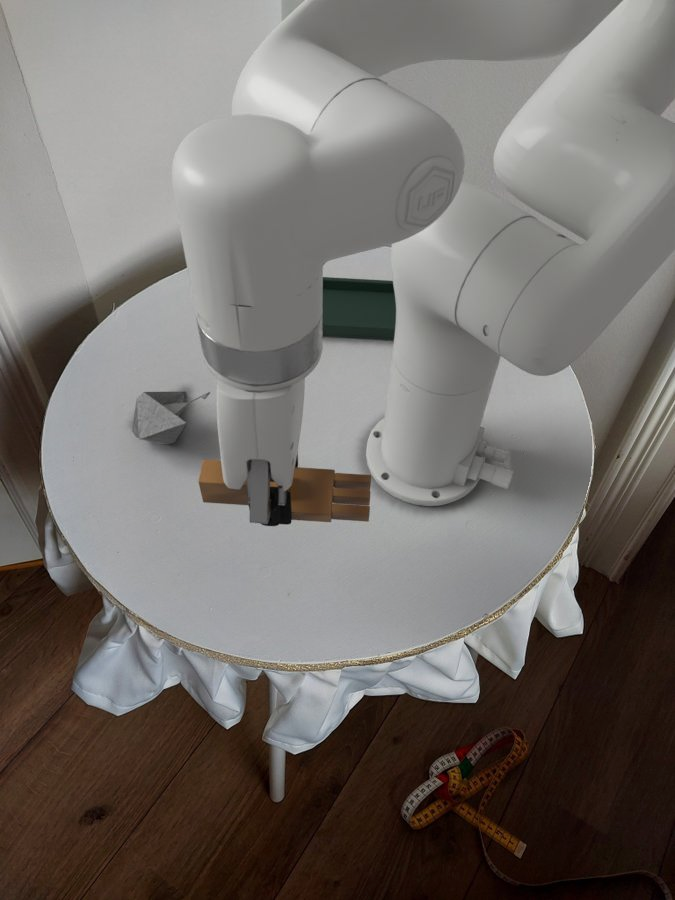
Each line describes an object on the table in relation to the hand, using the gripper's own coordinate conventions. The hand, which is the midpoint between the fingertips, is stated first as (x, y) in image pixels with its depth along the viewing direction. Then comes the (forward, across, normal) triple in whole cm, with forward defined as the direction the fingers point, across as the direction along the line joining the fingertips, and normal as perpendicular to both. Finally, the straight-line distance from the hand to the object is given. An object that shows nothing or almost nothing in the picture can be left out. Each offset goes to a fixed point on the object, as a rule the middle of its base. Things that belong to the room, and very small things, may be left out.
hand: (275, 492), depth 59 cm
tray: (+13, -36, +4) cm, 39 cm away
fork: (+1, 0, +1) cm, 1 cm away
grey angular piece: (+14, -15, -13) cm, 24 cm away
